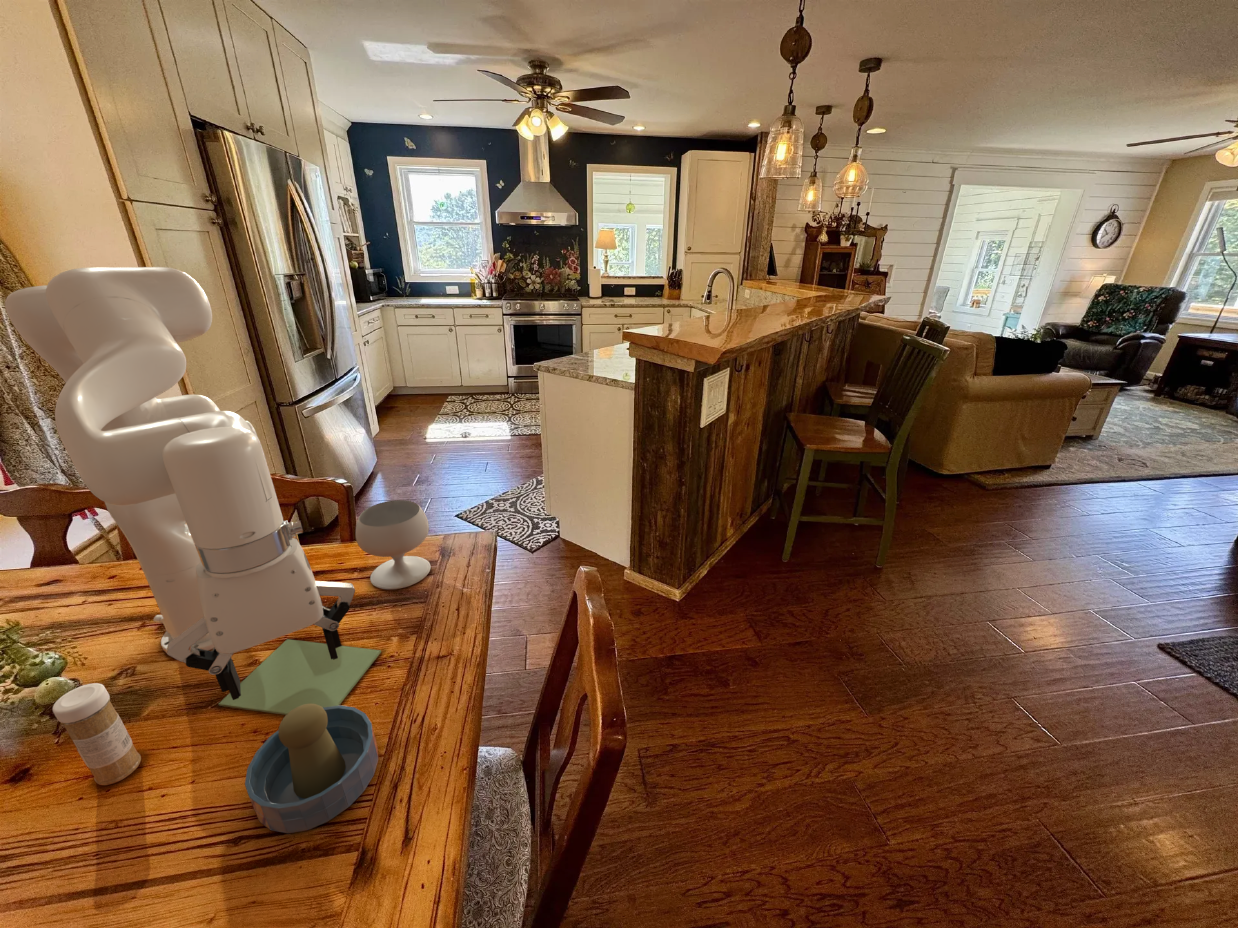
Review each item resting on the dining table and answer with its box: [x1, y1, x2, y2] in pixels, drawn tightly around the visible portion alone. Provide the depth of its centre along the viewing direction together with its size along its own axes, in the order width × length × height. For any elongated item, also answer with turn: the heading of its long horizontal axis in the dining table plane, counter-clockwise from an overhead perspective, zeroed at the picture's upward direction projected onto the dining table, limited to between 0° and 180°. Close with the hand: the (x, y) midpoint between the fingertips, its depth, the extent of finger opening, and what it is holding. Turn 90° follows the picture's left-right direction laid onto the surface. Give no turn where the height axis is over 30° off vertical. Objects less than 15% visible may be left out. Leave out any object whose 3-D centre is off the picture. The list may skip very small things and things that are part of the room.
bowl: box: [244, 704, 379, 834], centre depth 64 cm, size 14×14×5 cm
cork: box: [278, 704, 346, 799], centre depth 63 cm, size 6×6×11 cm
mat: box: [218, 638, 382, 716], centre depth 80 cm, size 18×14×1 cm
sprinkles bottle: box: [51, 682, 142, 786], centre depth 63 cm, size 5×5×13 cm
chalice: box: [355, 499, 432, 590], centre depth 104 cm, size 14×14×15 cm
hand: (287, 670), depth 58 cm, fingers open, 9 cm apart
